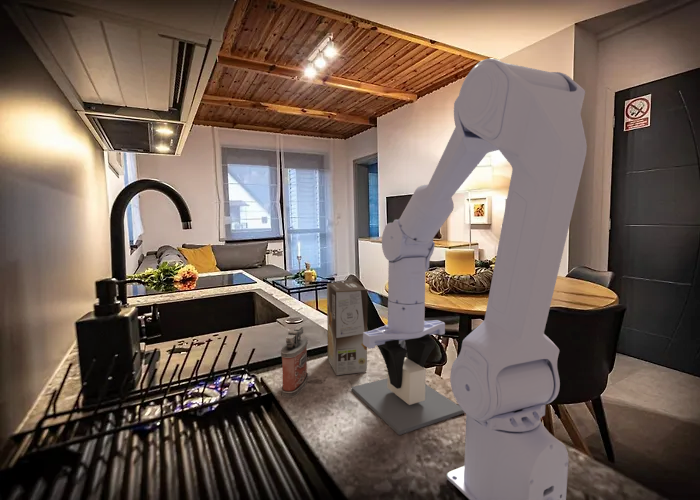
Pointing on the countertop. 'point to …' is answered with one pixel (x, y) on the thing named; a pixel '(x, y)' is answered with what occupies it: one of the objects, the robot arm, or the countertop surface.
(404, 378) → the beige rectangular block
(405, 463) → the countertop surface
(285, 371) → the lighter
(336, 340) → the coffee box
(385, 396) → the mat
